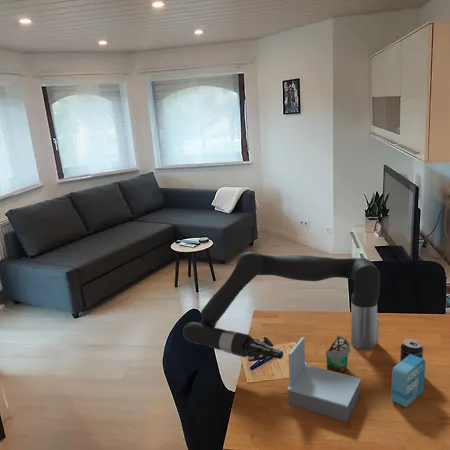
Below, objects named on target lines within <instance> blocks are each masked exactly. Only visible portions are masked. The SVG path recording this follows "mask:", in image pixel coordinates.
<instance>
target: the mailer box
mask: <svg viewBox="0 0 450 450" xmlns="http://www.w3.org/2000/svg"><path fill="white" fill-rule="evenodd" d="M360 392H361V382H360V383H359V385H358V387H357V389H356V392H355V394H354V396H353V398H352V400H351V402H350V404H349V406H348V408H347V407H343V406H340V405H336V404H333V403H330V402H326V401H323V400H319V399H316V398H313V397H309V396H306V395H302V394H299V393H296V392H292V391H289V390H288V405H290V406H293V407H296V408H299V409H303V410H306V411H309V412H311V413H315V414H318V415H321V416H325V417H328V418H331V419H334V420H337V421H340V422H344V423H348V421H349V418H350V417H351V414H352V412H353V410H354V408H355V406H356V404H357V402H358V399H359V397H360V395H361V394H360Z"/></svg>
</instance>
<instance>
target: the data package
mask: <svg viewBox="0 0 450 450" xmlns="http://www.w3.org/2000/svg"><path fill="white" fill-rule="evenodd" d="M425 375H426V359H424V358H423V359H422V358H419V357H417V356H414V355H412V354H410V355H409V356H407V357H406V358H405V359H403V360H402V361H401V362H400V361H399V362H398V363H397V364H396V365H395V366H394V367H393V368H392V372H391V390H390V391H391V392H390V394H391V395H390V399H391V401H392V402H394V403H396V404H398V405H399V406H402V407H404V408H407V407H408V406H410V404H412V403H413V402H414V401H415V400H416V399H417V398H418V397H419V396H420V395H421V394H422V393H423V392H424V389H425Z"/></svg>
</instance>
